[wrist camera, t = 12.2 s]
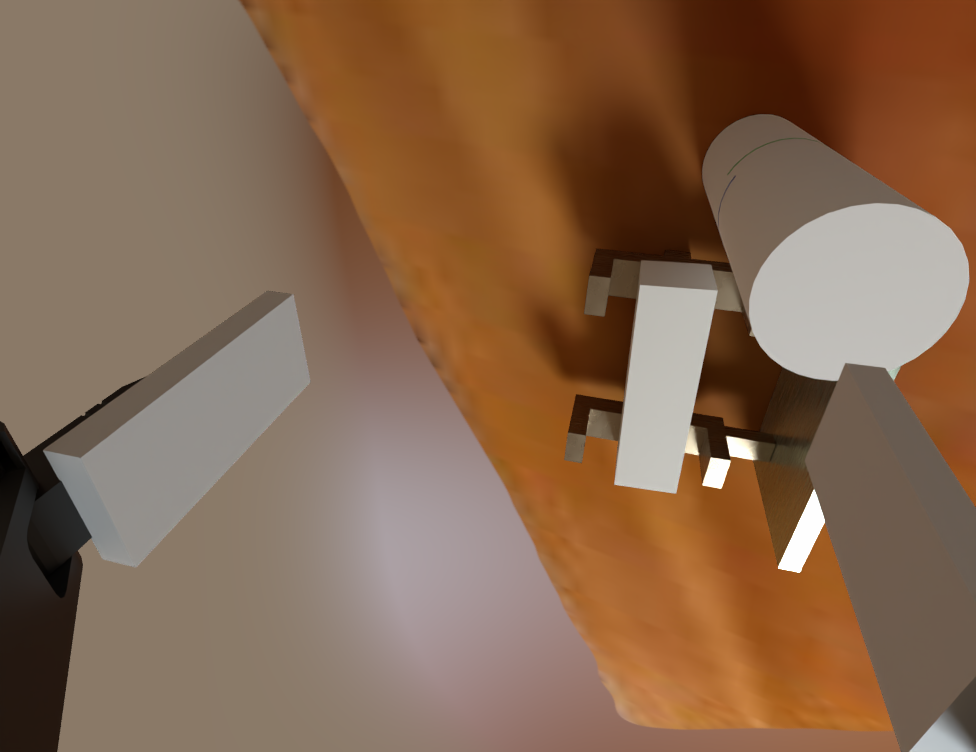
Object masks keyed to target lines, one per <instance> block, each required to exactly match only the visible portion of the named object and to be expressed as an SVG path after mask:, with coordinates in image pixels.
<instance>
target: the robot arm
mask: <svg viewBox="0 0 976 752" xmlns="http://www.w3.org/2000/svg"><path fill="white" fill-rule="evenodd" d="M309 383H310V377H309V372H308V367H307V362H306V356H305V351H304V346H303V341H302V336H301V331H300V325H299V321H298V316H297V310H296V305H295V300H294V295H293V294H288V293H280V292H273V291H266V292H265V293H264V294H262V295H261V296H259V297H258V298H256V299H255V300H254V301H252V302H251V303H249V304H248V305H247V306H245V307H244V308H242V309H241V310H239V311H238V312H237V313H235V314H234V315H233V316H231V317H230V318H228V319H227V320H225V321H224V322H223V323H221V324H220V325H218V326H217V327H216V328H214V329H213V330H211V331H210V332H208V333H207V334H206V335H204V336H203V337H201V338H200V339H199V340H197V341H196V342H194V343H193V344H192V345H190V346H189V347H187V348H186V349H185V350H183V351H182V352H180V353H179V354H178V355H176V356H175V357H173V358H172V359H171V360H169V361H168V362H166V363H165V364H163V365H162V366H161V367H159V368H158V369H156V370H155V371H154V372H152V373H151V374H149V375H148V376H146V377H144V378H142V379H139V380H137V381H135V382H133V383H130V384H128V385H126V386H123V387H121V388H120V389H119V390H117V391H116V392H114V393H113V394H112V395H110V396H108V397H107V398H106V399H104V400H103V401H102V404H97V405H95V406H94V407H93V408H91V409H90V410H88V411H87V412H86V414H85V416H80V417H78V418H77V419H75V420H74V421H73V422H71V423H70V424H68V425H67V426H65V427H64V428H63V429H61V430H60V431H58V432H57V433H55V434H54V435H53V436H51V437H50V438H48V439H47V440H45V441H44V442H42V443H41V444H40V445H38V446H37V447H35V448H34V449H32V450H31V451H30V452H28V453H27V454H25V455H24V456H23V455H22V454H21V452H20V450H19V449H18V447H17V445H16V443H15V442H14V440H13V438H12V436H11V435H10V433H9V431H8V430H7V428H6V426H5V424H4V423H2V422H1V421H0V752H57V749H58V742H59V734H60V727H61V720H62V713H63V706H64V698H65V691H66V684H67V677H68V669H69V662H70V655H71V648H72V640H73V633H74V626H75V619H76V611H77V604H78V597H79V589H80V582H81V575H82V568H83V563H82V558H81V556H80V554H79V552H78V550H79V549H80V548H81V547H82V546H83V545H84V544H85V543H86V542H87V541H88V540H89V539H92V541H93V542H94V544H95V546H96V548H97V550H98V552H99V554H100V555H101V557H102V559H104V560H108V561H112V562H116V563H120V564H124V565H128V566H132V567H137V566H138V565H139V564H140V563H141V562H142V561H143V560H144V558H145V557H146V556H147V555H148V554H149V553H150V552H151V551H152V550H153V549H154V548H155V547H156V546H157V545H158V544H159V542H160V541H161V540H162V539H163V538H164V537H165V536H166V535H167V534H168V533H169V532H170V531H171V530H172V529H173V528H174V527H175V525H176V524H177V523H178V522H179V521H180V520H181V519H182V518H183V517H184V516H185V515H186V514H187V513H188V512H189V511H190V510H191V508H192V507H193V506H194V505H195V504H196V503H197V502H198V501H199V500H200V499H201V498H202V497H203V496H204V495H205V494H206V493H207V492H208V490H209V489H210V488H211V487H212V486H213V485H214V484H215V483H216V482H217V481H218V480H219V479H220V478H221V477H222V476H223V474H224V473H225V472H226V471H227V470H228V469H229V468H230V467H231V466H232V465H233V464H234V463H235V462H236V461H237V460H238V458H240V456H241V455H242V454H243V453H244V452H245V451H246V450H247V449H248V448H249V447H250V446H251V445H252V444H253V443H254V442H255V440H256V439H257V438H258V437H259V436H260V435H261V434H262V433H263V432H264V431H265V430H266V429H267V428H268V427H269V426H270V424H271V423H272V422H273V421H274V420H275V419H276V418H277V417H278V416H279V415H280V414H281V413H282V412H283V411H284V410H285V409H286V408H287V407H288V405H289V404H290V403H291V402H292V401H293V400H294V399H295V398H296V397H297V396H298V395H299V394H300V393H301V392H302V391H303V390H304V388H305V387H306V386H307V385H308V384H309ZM805 463H806V466H807V469H808V472H809V475H810V478H811V481H812V484H813V487H814V490H815V493H816V496H817V499H818V502H819V505H820V508H821V511H822V514H823V518H824V521H825V524H826V527H827V530H828V533H829V536H830V539H831V542H832V545H833V548H834V551H835V554H836V557H837V560H838V563H839V566H840V569H841V572H842V575H843V578H844V581H845V584H846V587H847V590H848V593H849V596H850V599H851V602H852V605H853V608H854V611H855V614H856V617H857V620H858V623H859V626H860V629H861V632H862V635H863V638H864V641H865V644H866V647H867V650H868V653H869V656H870V659H871V662H872V665H873V668H874V671H875V674H876V677H877V680H878V683H879V686H880V689H881V693H882V696H883V699H884V702H885V705H886V708H887V711H888V714H889V717H890V720H891V723H892V726H893V729H894V732H895V735H896V738H897V741H898V744H899V746H900V750H901V752H976V508H975V506H974V505H973V503H972V501H971V500H970V498H969V497H968V495H967V494H966V492H965V491H964V489H963V487H962V486H961V484H960V483H959V481H958V480H957V478H956V477H955V475H954V474H953V472H952V470H951V469H950V467H949V466H948V464H947V463H946V461H945V460H944V458H943V457H942V455H941V453H940V452H939V450H938V449H937V447H936V446H935V444H934V443H933V441H932V440H931V438H930V436H929V435H928V433H927V432H926V430H925V429H924V427H923V426H922V424H921V422H920V421H919V419H918V418H917V416H916V415H915V413H914V412H913V410H912V409H911V407H910V405H909V404H908V402H907V401H906V399H905V398H904V396H903V395H902V393H901V392H900V390H899V388H898V387H897V385H896V384H895V382H894V381H893V379H892V378H891V376H890V375H889V373H888V371H887V370H886V368H883V367H875V366H867V365H859V364H851V363H845V365H844V367H843V370H842V372H841V375H840V377H839V379H838V382H837V384H836V387H835V389H834V391H833V394H832V396H831V398H830V401H829V403H828V406H827V408H826V410H825V413H824V415H823V418H822V420H821V422H820V425H819V427H818V430H817V432H816V434H815V437H814V439H813V442H812V444H811V446H810V449H809V451H808V453H807V456H806V458H805Z"/></svg>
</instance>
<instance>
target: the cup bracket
mask: <svg viewBox="0 0 976 752" xmlns="http://www.w3.org/2000/svg"><path fill="white" fill-rule="evenodd" d="M641 260H646V261H662V262H678V263H694V264H710V265H711V266H712V270H713V274H714V277H715V281H716V285H717V289H718V292H717V297H716V302H715V307H714V309H721V310H729V311H737V312H742V315H743V318H744V321H745V324H746V327H747V330H748V334H749V336H754V337H755V335H754V334H753V331H752V328H751V325H750V322H749V319H748V316H747V313H746V310H745V307H744V304H743V301H742V298H741V295H740V292H739V289H738V286H737V283H736V280H735V277H734V274H733V271H732V268H731V265H730V263H724V262H715V261H706V260H697V259H691V253H688V252H679V251H669V250H665V254H664V256H660V255H651V254H642V253H633V252H624V251H615V250H606V249H597V248H596V251H595V255H594V259H593V263H592V267H591V271H590V275H589V281H588V289H587V296H586V303H585V311H584V314H588V315H596V316H603V317H605V311H606V305H607V299H608V295H609V296H617V297H625V298H633V299H636V297H637V289H638V281H639V273H640V265H641ZM900 367H901V366H899V367H898V368H896V369H893V370H890V371H888V373H889V375H890V376H891V378H892V379H893V381H894V379H895V377H896V375H897V373H898V371H899V369H900ZM837 382H838V381H830V380H821V379H814V378H810V377H806V376H803V375H799V374H797V373H794V372H792V371H790V370H788V369H786V368H784V367H782V370H781V373H780V376H779V378H778V381H777V384H776V387H775V389H774V392H773V395H772V398H771V400H770V403H769V406H768V409H767V412H766V414H765V417H764V420H763V423H762V425H761V428H760V431H759V432H758V431H752V430H746V429H740V428H734V427H727V426H724V421H723V418H721V417H715V416H708V415H702V414H696V413H692V418H691V423H690V428H689V433H688V438H687V443H686V447H685V452H684V453H690V454H696V455H699V460H700V469H701V478H702V485H704V486H710V487H715V488H722V485H723V482H724V479H725V476H726V473H727V470H728V467H729V464H730V461H731V459H730V456H734V457H740V458H746V459H751V460H753V463H754V467H755V471H756V475H757V480H758V484H759V488H760V492H761V497H762V501H763V505H764V509H765V514H766V518H767V522H768V526H769V531H770V535H771V539H772V543H773V548H774V552H775V556H776V560H777V565H778V568H781V569H786V570H791V571H795V572H800V570H801V568H802V566H803V564H804V562H805V560H806V558H807V556H808V554H809V552H810V550H811V548H812V546H813V544H814V542H815V540H816V538H817V536H818V534H819V532H820V530H821V528H822V525H823V523H824V518H823V514H822V511H821V508H820V505H819V502H818V499H817V496H816V493H815V490H814V487H813V484H812V481H811V478H810V475H809V472H808V469H807V466H806V463H805V458H806V456H807V453H808V451H809V449H810V446H811V444H812V442H813V439H814V437H815V434H816V432H817V430H818V427H819V425H820V422H821V420H822V418H823V415H824V413H825V410H826V408H827V406H828V403H829V401H830V398H831V396H832V394H833V391H834V389H835V387H836V384H837ZM622 408H623V402H621V401H615V400H608V399H602V398H596V397H590V396H583V395H577V394H576V397H575V402H574V407H573V411H572V416H571V421H570V426H569V431H568V437H567V444H566V452H565V459H564V460H567V461H573V462H578V463H582V458H583V452H584V446H585V440H586V436H592V437H598V438H603V439H609V440H615V441H618V440H619V432H620V424H621V416H622Z"/></svg>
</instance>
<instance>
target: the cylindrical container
mask: <svg viewBox="0 0 976 752" xmlns="http://www.w3.org/2000/svg"><path fill="white" fill-rule="evenodd" d="M702 180H703V184H704V188H705V191H706V194H707V197H708V200H709V203H710V206H711V209H712V212H713V215H714V218H715V221H716V224H717V227H718V230H719V233H720V236H721V239H722V242H723V245H724V248H725V251H726V254H727V257H728V260H729V262H730V265H731V268H732V271H733V274H734V277H735V280H736V283H737V286H738V289H739V292H740V295H741V298H742V301H743V304H744V307H745V310H746V313H747V316H748V319H749V322H750V325H751V328H752V331H753V334H754V335H755V337H756V339H757V341H758V343H759V345H760V347H761V348H762V349H763V350H764V351H765V352H766V353H767V355H768V356H769V357H770V358H771V359H773V360H774V361H775V362H777V363H778V364H779V365H781V366H782V367H784V368H786V369H788V370H790V371H792V372H794V373H797V374H799V375H803V376H806V377H810V378H814V379H821V380H830V381H838V379H839V377H840V375H841V372H842V370H843V367H844V365H845V363H851V364H859V365H867V366H875V367H883V368H886V370H887V371H890V370H893V369H896V368H898V367H899V366H901V365H903V364H905V363H907V362H909V361H911V360H913V359H915V358H916V357H918V356H919V355H920V354H922V353H923V352H924V351H926V350H927V349H929V348H930V347H931V346H932V345H933V344H934V343H935V342H936V341H938V340H939V339H940V338H941V337H942V336H943V335H944V334H945V333H946V331H947V330H948V329H949V327H950V326H951V324H952V323H953V322H954V320H955V319H956V318H957V316H958V314H959V311H960V309H961V307H962V305H963V303H964V301H965V298H966V293H967V289H968V284H969V267H968V260H967V257H966V254H965V251H964V248H963V246H962V243H961V242H960V241H959V239H958V238H957V237H956V235H955V234H954V233H953V231H952V230H951V229H950V228H949V227H948V226H946V225H945V224H944V223H943V222H941V221H940V220H939V219H937V218H936V217H935V216H933V215H932V214H930V213H929V212H927V211H926V210H924V209H923V208H921V207H919V206H918V205H916V204H915V203H913V202H912V201H910V200H909V199H907V198H906V197H904V196H903V195H901V194H900V193H898V192H897V191H895V190H894V189H892V188H891V187H889V186H887V185H886V184H884V183H883V182H881V181H880V180H878V179H877V178H875V177H874V176H872V175H871V174H869V173H868V172H866V171H865V170H863V169H862V168H860V167H859V166H857V165H855V164H854V163H852V162H851V161H849V160H848V159H846V158H845V157H843V156H842V155H840V154H839V153H837V152H836V151H834V150H833V149H831V148H829V147H828V146H826V145H825V144H823V143H822V142H820V141H819V140H817V139H816V138H814V137H813V136H811V135H810V134H808V133H807V132H805V131H804V130H802V129H800V128H799V127H797V126H796V125H794V124H793V123H791V122H790V121H788V120H786V119H784V118H782V117H780V116H775V115H771V114H758V115H752V116H748V117H745V118H743V119H740V120H737V121H736V122H734V123H732V124H731V125H729V126H728V127H726V128H725V129H724V130H723V131H722V132H721V133H720V134H719V135H718V136H717V137H716V138H715V139H714V141H713V142H712V143H711V145H710V147H709V149H708V150H707V153H706V155H705V158H704V162H703V167H702Z"/></svg>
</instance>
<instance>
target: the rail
mask: <svg viewBox="0 0 976 752" xmlns="http://www.w3.org/2000/svg"><path fill="white" fill-rule="evenodd" d="M717 292H718V289H717V285H716V281H715V277H714V274H713V270H712V266H711V265H710V264H694V263H678V262H662V261H646V260H641V265H640V273H639V281H638V289H637V297H636V305H635V313H634V321H633V329H632V337H631V345H630V352H629V360H628V368H627V376H626V384H625V392H624V400H623V408H622V416H621V424H620V432H619V440H618V447H617V459H616V471H615V483H614V485H621V486H628V487H635V488H641V489H648V490H655V491H662V492H668V493H675V494H676V491H677V486H678V481H679V476H680V472H681V467H682V462H683V457H684V452H685V447H686V443H687V438H688V433H689V428H690V423H691V418H692V413H693V409H694V404H695V399H696V394H697V389H698V384H699V379H700V375H701V370H702V365H703V360H704V355H705V350H706V346H707V341H708V336H709V331H710V326H711V321H712V316H713V312H714V307H715V302H716V297H717Z"/></svg>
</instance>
